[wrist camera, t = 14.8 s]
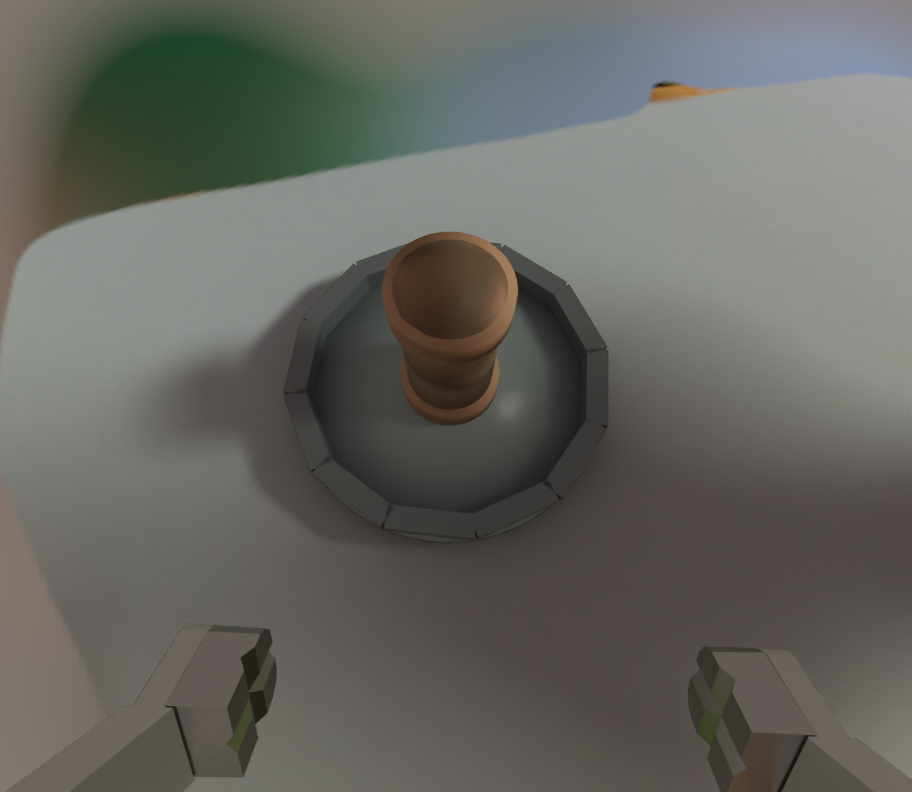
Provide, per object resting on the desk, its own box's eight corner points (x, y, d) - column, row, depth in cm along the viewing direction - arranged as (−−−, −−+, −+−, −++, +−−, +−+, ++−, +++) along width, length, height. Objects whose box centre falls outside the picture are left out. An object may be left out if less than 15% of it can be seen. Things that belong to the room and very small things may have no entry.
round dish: (517, 225, 36) (521, 200, 33) (657, 462, 30) (675, 451, 28) (260, 318, 33) (245, 298, 31) (359, 600, 27) (350, 601, 25)
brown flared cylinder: (473, 325, 32) (482, 215, 22) (513, 403, 30) (541, 318, 21) (389, 358, 31) (362, 257, 22) (424, 440, 29) (412, 369, 20)
